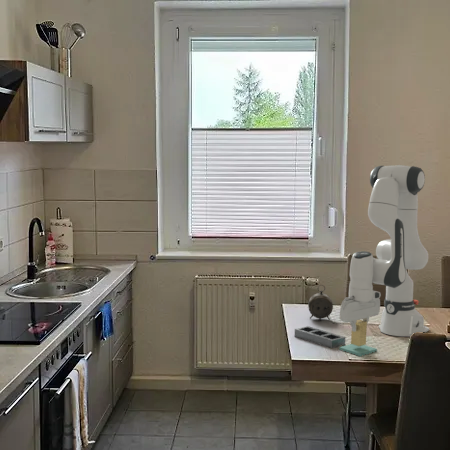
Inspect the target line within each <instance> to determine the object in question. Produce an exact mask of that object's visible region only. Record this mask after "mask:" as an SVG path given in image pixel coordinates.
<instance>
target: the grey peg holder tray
mask: <svg viewBox="0 0 450 450" xmlns="http://www.w3.org/2000/svg"><path fill="white" fill-rule="evenodd" d="M295 337H296V338H298V339H301V340H304V341H308V342H310V343H315V344H317V345H321V346H324V347H326V348H330V349H334V347H335V348H338V347H342V346H346V336H343V335H340V334H335V333H332V332H329V331H327V330H326V331H325V330H322V329H319V328H315V327H314V326H309V325H307V326H303V327H299V328H294V338H295ZM341 345H342V346H341Z"/></svg>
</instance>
